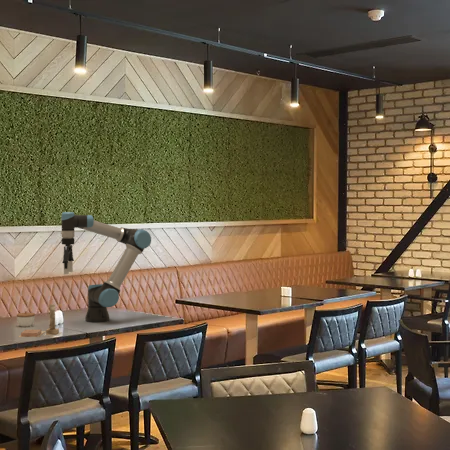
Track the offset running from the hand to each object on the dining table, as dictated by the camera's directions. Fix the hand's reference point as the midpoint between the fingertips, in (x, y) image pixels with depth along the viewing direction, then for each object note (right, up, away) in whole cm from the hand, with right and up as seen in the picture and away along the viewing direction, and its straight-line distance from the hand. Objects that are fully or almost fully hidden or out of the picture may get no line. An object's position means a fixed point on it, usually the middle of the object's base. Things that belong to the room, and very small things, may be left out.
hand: (68, 273), depth 438 cm
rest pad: (-4, -34, -24) cm, 41 cm away
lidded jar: (-26, -33, +2) cm, 42 cm away
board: (-15, -34, -24) cm, 44 cm away
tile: (-15, -32, -21) cm, 41 cm away
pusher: (-4, -33, -24) cm, 41 cm away
